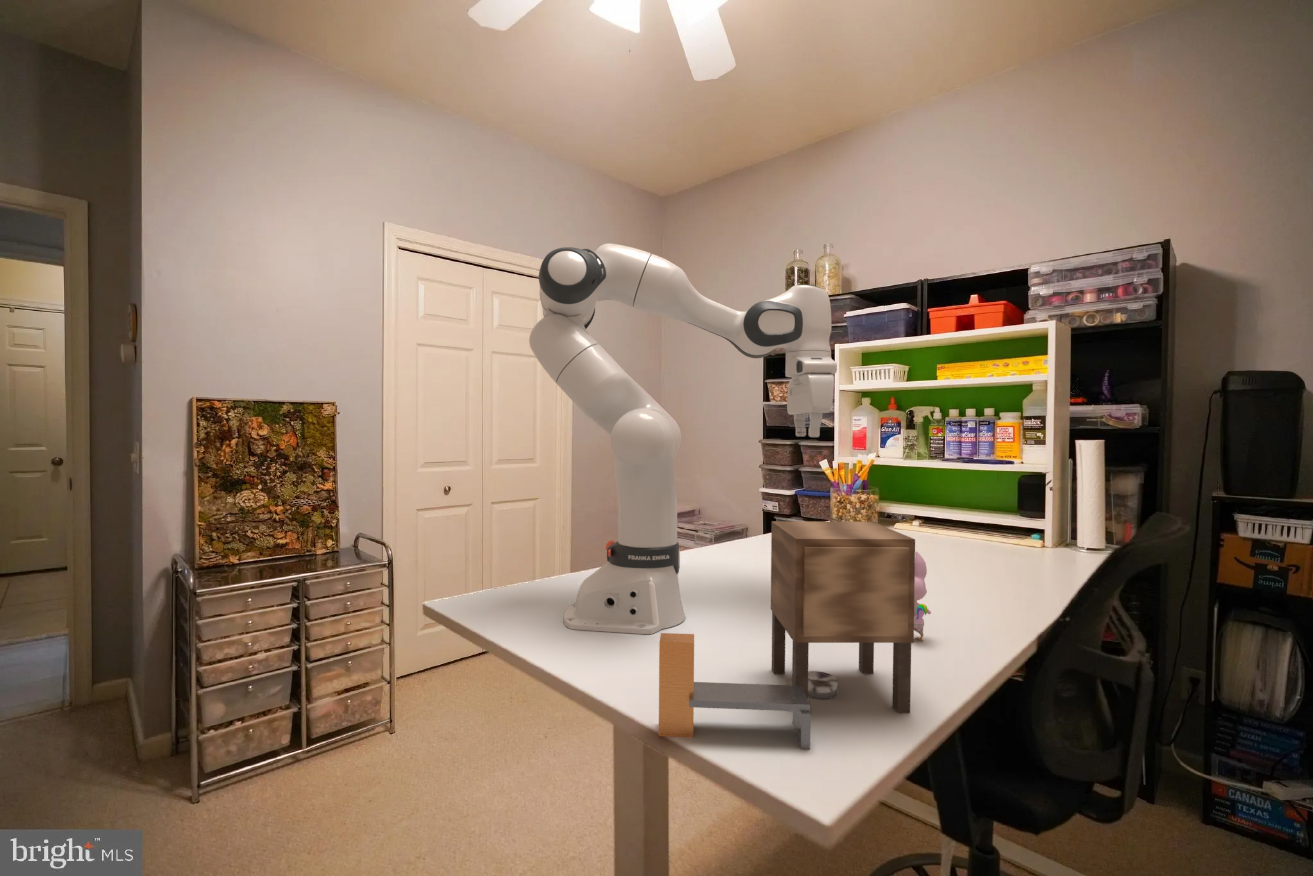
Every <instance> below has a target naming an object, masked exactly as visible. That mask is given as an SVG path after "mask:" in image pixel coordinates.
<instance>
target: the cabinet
mask: <svg viewBox="0 0 1313 876" xmlns="http://www.w3.org/2000/svg"><path fill="white" fill-rule="evenodd" d="M770 538H771V541H770V542H771V543H770V544H771V547H770V548H771V552H770V555H771V556H770V610H771V672H772V673H773V674H774V675H785V674H786V633H787V634H788V635H789V637H790V638H791V640H792V651H791V652H792V660H791V665H792V667H791V668H792V671H791V676H792V677H791V678H792V679H791V685H796V686H802V687H803V689H804V692H805V694H806V697H807V699H808V700H809V697H808V671H809V649H810V648H809V647H810V646H809V644H811V643H812V644H813V643H814V644H817V643H818V644H819V643H820V644H822V643H823V644H824V643H825V644H827V643H828V644H829V643H830V644H831V643H833V644H845V643H846V644H849V643H850V644H851V643H852V644H853V643H854V644H855V643H857V644H858V671H860V673H861V674H862V675H874V665H875V663H874V662H875V661H874V660H875V643H876V644H881V643H883V644H889V643H891V644H892V649H893V651H892V700H891V702H892V704H891V705H892V709H893V710H894V711H895V712H896V713H897V714H911V692H912V691H911V688H912V686H911V684H912V683H911V681H912V679H911V678H912V675H911V674H912V673H911V672H912V643H914V642H915V641H914V639H915V638H914V637H915V636H914V635H915V634H914V633H915V631H914V586H915V552H916V539H915V538H913V537H911V536H908V535H905V534H903V533H900V532H898V531H896V530H893V529H891V528H889V527H886V526H884V525H882V524H879V523H877V522H874V521H794V520H793V521H789V520H787V521H784V520H783V521H779V520H777V521H773V520H772V521H771V537H770Z"/></svg>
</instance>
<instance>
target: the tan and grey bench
mask: <svg viewBox="0 0 1313 876" xmlns="http://www.w3.org/2000/svg"><path fill="white" fill-rule="evenodd" d="M658 649H659V651H658V652H659V654H658V655H659V658H658V659H659V660H658V662H659V663H658V670H659V671H658V737H670V738H694V708H697V709H698V708H701V709H724V710H725V709H728V710H749V711H750V710H751V711H755V710H756V711H774V712H775V711H779V712H792V715H791V716H792V721H791V723H792V726H793V728H794V732H795V735H796V738H797V740H798V744H799V747H800V749H801V750H809V751H810V750H811V719H812V718H811V704H810V702H809V698H808V699H807V697H806V694H805V692H804V689H803V687H802V686H796V685H792V684H790V685H789V684H764V683H761V684H760V683H739V682H738V683H733V682H712V681H711V682H710V681H708V682H706V681H704V682H703V681H695V633H675V632H674V633H671V632H670V633H669V632H661V633H660V637H659V647H658Z"/></svg>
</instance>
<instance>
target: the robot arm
mask: <svg viewBox="0 0 1313 876" xmlns="http://www.w3.org/2000/svg"><path fill="white" fill-rule="evenodd" d="M538 282H539V283H538V284H539V300H540V304H541V308H542V314H543V318H542V319H540V320H539V321H538V322H536V324H535V325H534V326H533V328H532V330H531V331H530V334H529V339H528V340H529V347H530V349H531V351H532V352H533V355H534V356H535V358H536V359H537V361H538V363H539V364H540V365H541V367H542V368H543V369H544V370H545V372H546V373H547V374H548V375H549V377H550V378H551V379H552V380H553V381H554V382H555V384H556V385H557V386H558V387H559V388H560V389H561V390H562V391H563V392H564V393H565V395H567V397H568V398H569V399H570V400H571V401H572V402H573V403H574V404H575V405H576V406H577V407H578V409H579V410H580V411H581V412H582V413H583V414H584V415H585V416H587V418H589V419H591V420H592V421H593V422H594V423H595V424H596V425H597V426H599V428H601V429H602V430H604V431H605V432H606V434H608V435H609V436H610V447H611V451H612V458H613V462H612V463H613V468H614V469H613V470H614V471H613V472H614V476H615V477H614V478H615V485H616V492H617V493H616V494H617V507H618V508H617V509H618V510H617V541H615V540H613V539H612V540H611V539H610V540H608V541H607V543H606V544H605V549H606V561H607V562H606V563H604V564H603V565H602V566H600V568H598V569H597V570H595V571H594V572H593V573H591V574H590V575H589V576H588V577H587V578H585V579H584V580H583V581H582V583H581V584H580V587H579V589H578V590H577V596H576V599H575V603H574V604H571V605H570V606H569V607H568V608H567V609H566V610H565V612H564V614H563V615H564V616H563V624H564V626H565V627H566V628H568V629H569V630H575V631H576V630H578V631H591V632H607V633H618V634H619V633H622V634H635V635H636V634H639V635H652V634H653V635H654V634H655V633H657V632H659V631H661V630H664V629H668V628H672V627H675V626H678V625H680V624H682V623H683V622H684V621H685V620H686V615H685V611H684V608H683V607H684V606H683V603H682V598H681V593H680V591H681V590H680V584H679V573H680V572H679V571H680V567H681V565H680V564H681V549H680V544H679V542H678V496H677V488H676V474H675V472H676V471H675V457H676V456H677V454H678V453H679V451H680V448H681V445H682V430H681V427H680V426H679V424H678V423H677V422H676V420H675V419H674V417H672V416H671V415H670V414H669V413H668V412H667V411H666V410H665V409H664V408H663V407H662V405H660V404H659V403H658V402H657V401H656V400H655V399H654V398H653V397H652V396H651V395H650V394H649V393H648V392H647V391H646V390H645V389H644V388H643V387H642V386H640V384H639V383H637V381H635V380H634V379H633V378H632V377H631V376H630V375H629V374H628V373H627V372H626V371H625V369H623V368H622V366H620V364H618V363H617V361H616V360H615V359H614V358H613V357H612V356H611V354H609V353H608V352H607V351H606V349H604V348H603V347H602V346H601V344H600V343H599V342H598V341H597V340H596V339H595V338H593V336H592V335H591V334H590V333H589V332H588V330H587V328H589V326H590V325H591V323H592V322H593V319H594V317H595V315H596V314H595V313H596V304H597V302H600V301H601V302H602V301H613V302H614V301H615V302H619V303H621V304H623V305H625V306H629V307H631V308H634V309H637V310H639V311H642V312H645V313H649V314H652V315H656V316H660V317H664V318H669V319H672V320H677V321H679V322H685V323H687V324H690V325H692V326H695V327H697V328H699V329H701V330H704V331H706V332H709V333H711V334H714V335H716V336H718V337H721V338H723V339H724V340H726V341H728V342H729V343H730V344H731V345H733V346H734V347H735V348H736V350H737V351H738V352H740V353H741V354H742V355H744V356H746V357H748V358H750V359H762V358H765V357H768V356H769V355H771V354H772V353H773V352H774V351H775V350H776V349H777V348H779V349H780V348H781V349H784V350H785V377H786V378H791V379H790V380H789V382H788V385H787V398H786V399H787V400H786V410H787V414H788V415H790V416H791V415H792V416H793V421H794V427H795V436H796V437H806V436H807V435H808V437H810V438H819V437H820V436H821V435H820V434H821V433H820V431H821V430H820V429H821V426H822V421H823V414H827V413H830V412H831V410H832V407H833V402H834V401H833V400H834V389H835V388H834V387H835V376H834V375H835V374H836V373H837V370H838V368H837V367H838V364H837V362H836V361H835V360H834V359H832V350H831V346H830V345H831V344H830V336H831V333H832V309H831V307H832V306H831V301H830V297H829V294H828V292H827V291H826V290H824V289H823V288H822V287H820V286H817V285H813V284H797V285H793V286H791V287H790V288H789V289H788V290H786V291H785V292H783V293H782V294H779V295H777V296H775V297H772V298H769V299H766V300H761V301H758V302H755V303H754V304H752V306H750V307H748V308H747V310H746V311H742V310H741V311H739V310H736V309H733V308H731V307H728V306H726V305H723V304H722V303H719V302H717V301H714V300H712V299H710V298H708V297H706V296H704V295H702V294H701V293H700V292H699V291H697V289H696V288H695V287H694V286H693V285H692V283H691V282H690V280H689V277H688V276H687V274H686V272H685V271H684V270H683V269H682V268H681V267H679V266H678V265H676V264H674V263H673V262H671V261H669V260H667V259H666V258H664V257H661V256H660V255H656V254H653V253H651V252H649V251H646V250H643V249H639V248H635V247H633V246H632V247H631V246H628V245H627V246H626V245H622V244H618V243H617V244H616V243H609V242H608V243H604V244H602V245H600V246H598V248H597V249H595V251H593V250H592V249H589V248H583V249H582V248H578V247H571V246H570V247H568V246H567V247H566V246H565V247H560V248H556V249H552V250H551V251H550V252H548V254H546V255H545V257H544V258H543V260H542V262H541V264H540V268H539V273H538ZM806 415H809V416H808V417H809V427H808V431H807V427H806ZM807 432H808V433H807Z"/></svg>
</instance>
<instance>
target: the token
mask: <svg viewBox="0 0 1313 876" xmlns="http://www.w3.org/2000/svg"><path fill="white" fill-rule="evenodd" d="M838 680H839V679H837V677H836V676H834V675H832V674H830V673H827V672H823V671H819V670H815V671H814V670H813V671H812V670H811V671H810V670H808V698H810V699H814V700H823V701H824V700H833V699H835V698H836V697H837V696H838Z"/></svg>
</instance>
